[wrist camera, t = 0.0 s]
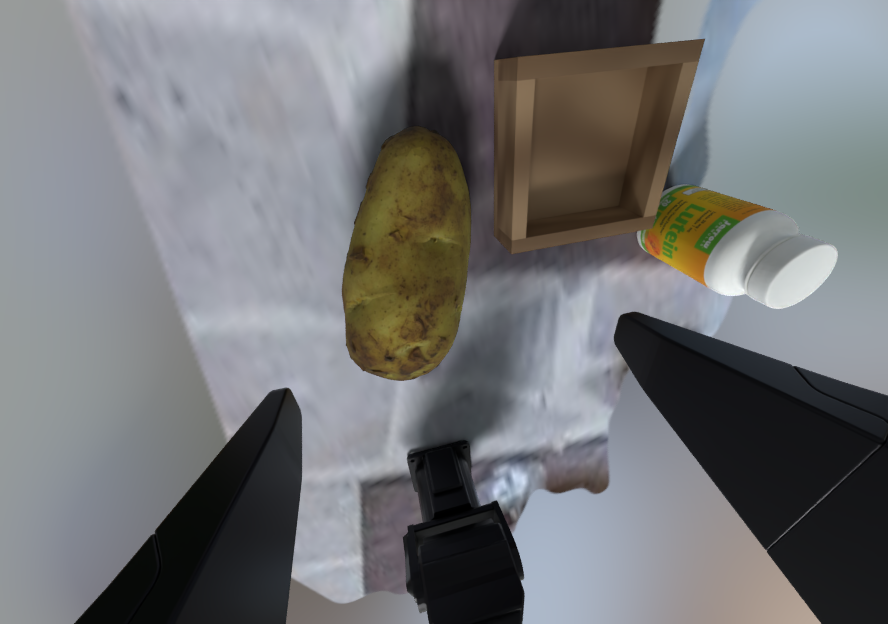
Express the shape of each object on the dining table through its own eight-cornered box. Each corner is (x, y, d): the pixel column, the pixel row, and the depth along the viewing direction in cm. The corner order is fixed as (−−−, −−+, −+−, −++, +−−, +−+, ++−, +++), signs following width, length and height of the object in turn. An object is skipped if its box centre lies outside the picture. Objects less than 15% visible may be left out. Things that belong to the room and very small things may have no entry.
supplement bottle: (653, 180, 24) (799, 228, 16) (712, 184, 26) (874, 231, 18) (623, 251, 27) (736, 322, 19) (678, 252, 28) (804, 318, 21)
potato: (509, 182, 22) (577, 225, 16) (412, 333, 27) (433, 413, 20) (393, 102, 18) (419, 116, 12) (304, 295, 23) (287, 379, 17)
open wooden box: (621, 213, 25) (652, 228, 23) (494, 235, 24) (511, 254, 21) (659, 43, 20) (704, 38, 17) (494, 60, 18) (517, 57, 16)
